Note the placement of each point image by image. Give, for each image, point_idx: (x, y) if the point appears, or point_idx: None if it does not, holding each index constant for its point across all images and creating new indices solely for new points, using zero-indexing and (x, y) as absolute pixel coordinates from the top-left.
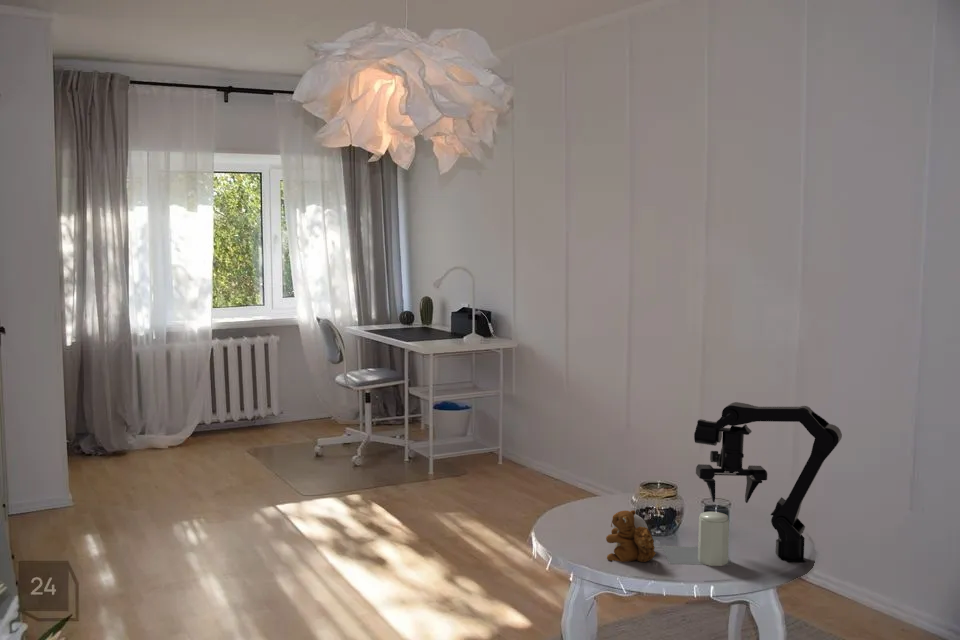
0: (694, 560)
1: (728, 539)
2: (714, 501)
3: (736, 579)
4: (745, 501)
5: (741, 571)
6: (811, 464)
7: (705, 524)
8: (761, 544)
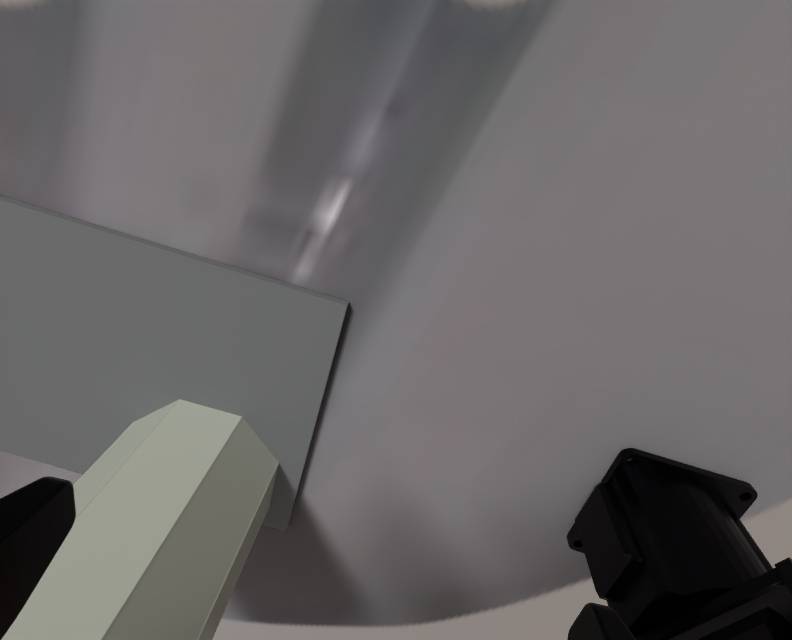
0: (110, 437)
1: (215, 628)
2: (64, 535)
3: (243, 617)
4: (581, 627)
5: (301, 568)
6: None
7: None
8: (669, 280)
